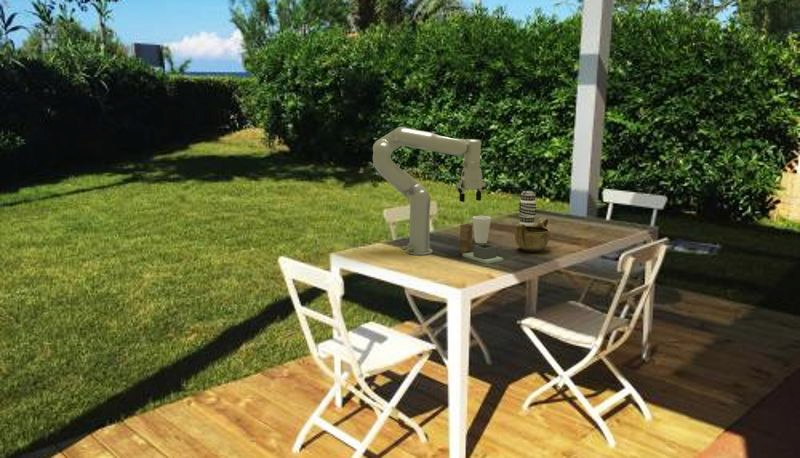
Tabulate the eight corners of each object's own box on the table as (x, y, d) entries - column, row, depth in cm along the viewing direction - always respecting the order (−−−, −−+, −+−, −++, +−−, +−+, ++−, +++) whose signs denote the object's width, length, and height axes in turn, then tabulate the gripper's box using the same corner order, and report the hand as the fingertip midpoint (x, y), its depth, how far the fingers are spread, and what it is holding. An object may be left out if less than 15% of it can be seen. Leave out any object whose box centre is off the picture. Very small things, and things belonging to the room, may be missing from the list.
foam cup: (493, 243, 343) (494, 218, 340) (476, 244, 340) (477, 219, 337) (485, 239, 352) (486, 215, 349) (469, 240, 349) (469, 216, 346)
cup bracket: (486, 263, 302) (487, 250, 301) (462, 256, 316) (462, 243, 314) (503, 260, 308) (503, 247, 306) (478, 253, 321) (478, 240, 320)
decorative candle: (517, 239, 353) (519, 192, 348) (518, 235, 362) (520, 189, 357) (534, 240, 351) (536, 193, 346) (535, 236, 360) (537, 190, 354)
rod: (465, 254, 318) (465, 226, 316) (459, 253, 322) (460, 224, 319) (471, 253, 321) (472, 225, 318) (466, 252, 324) (466, 223, 321)
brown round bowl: (530, 244, 341) (532, 215, 338) (559, 249, 329) (560, 220, 326) (503, 250, 326) (504, 220, 323) (532, 257, 314) (533, 226, 311)
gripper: (461, 166, 310) (459, 203, 313) (491, 165, 318) (489, 201, 321) (452, 165, 316) (450, 200, 319) (481, 164, 324) (480, 198, 328)
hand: (470, 200), depth 320 cm, fingers open, 9 cm apart
